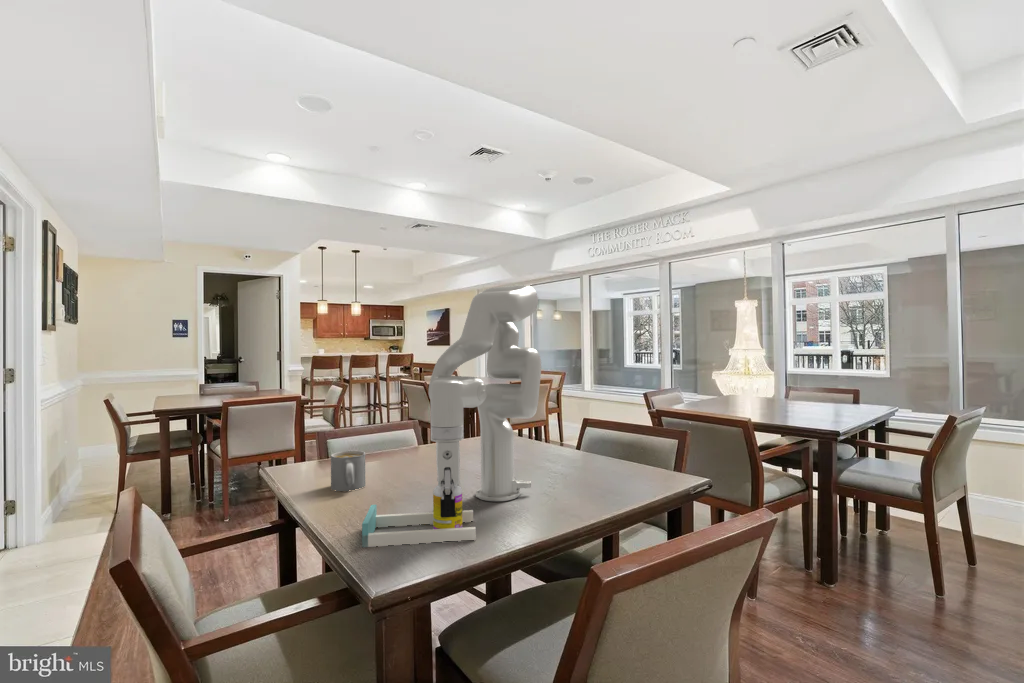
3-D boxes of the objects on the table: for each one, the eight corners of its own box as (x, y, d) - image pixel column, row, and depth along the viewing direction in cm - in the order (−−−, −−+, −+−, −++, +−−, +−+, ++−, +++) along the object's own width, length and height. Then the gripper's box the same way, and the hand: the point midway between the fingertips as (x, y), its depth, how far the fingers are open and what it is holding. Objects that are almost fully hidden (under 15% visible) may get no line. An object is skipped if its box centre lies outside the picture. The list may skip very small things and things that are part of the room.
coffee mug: (334, 483, 151) (334, 451, 151) (367, 481, 153) (367, 449, 153) (325, 496, 138) (325, 461, 138) (361, 494, 140) (361, 459, 140)
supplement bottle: (457, 538, 107) (456, 479, 107) (429, 536, 108) (428, 478, 108) (466, 526, 113) (465, 472, 113) (439, 525, 115) (439, 470, 115)
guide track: (472, 520, 118) (472, 499, 118) (475, 540, 105) (475, 517, 105) (371, 526, 114) (371, 504, 114) (362, 547, 102) (362, 523, 102)
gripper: (465, 439, 103) (465, 524, 103) (462, 426, 120) (463, 498, 120) (429, 440, 102) (429, 526, 102) (431, 427, 119) (432, 500, 119)
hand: (447, 510), depth 111 cm, fingers closed on supplement bottle, 6 cm apart
